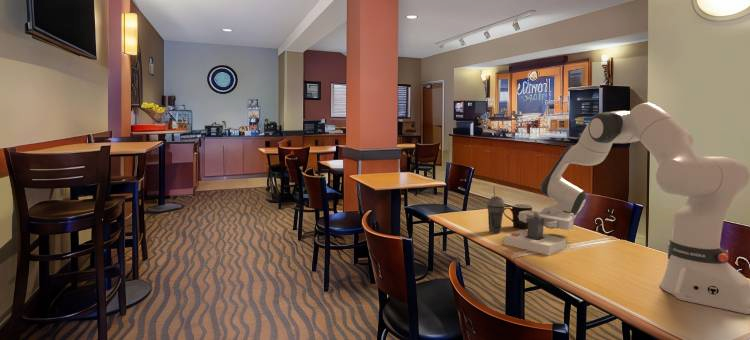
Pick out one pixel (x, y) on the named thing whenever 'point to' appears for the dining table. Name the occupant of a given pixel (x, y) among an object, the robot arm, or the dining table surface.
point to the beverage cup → (495, 213)
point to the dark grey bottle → (535, 227)
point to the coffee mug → (515, 211)
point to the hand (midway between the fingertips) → (535, 222)
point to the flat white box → (535, 242)
